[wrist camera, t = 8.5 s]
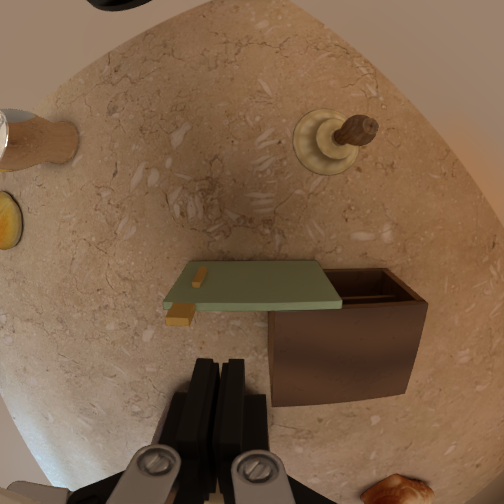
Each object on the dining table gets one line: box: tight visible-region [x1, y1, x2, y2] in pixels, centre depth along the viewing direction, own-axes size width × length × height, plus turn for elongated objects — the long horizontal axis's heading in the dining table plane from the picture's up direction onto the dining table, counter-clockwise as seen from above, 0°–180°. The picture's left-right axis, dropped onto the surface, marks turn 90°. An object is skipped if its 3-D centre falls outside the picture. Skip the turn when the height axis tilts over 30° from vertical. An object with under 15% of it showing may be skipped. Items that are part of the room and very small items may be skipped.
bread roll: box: [0, 191, 22, 250], centre depth 36 cm, size 8×9×4 cm
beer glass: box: [0, 109, 79, 172], centre depth 28 cm, size 7×7×15 cm
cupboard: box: [268, 268, 428, 407], centre depth 36 cm, size 12×16×12 cm
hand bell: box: [293, 109, 379, 176], centre depth 28 cm, size 8×8×16 cm
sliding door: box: [163, 260, 342, 327], centre depth 32 cm, size 1×16×16 cm, turn 90°
